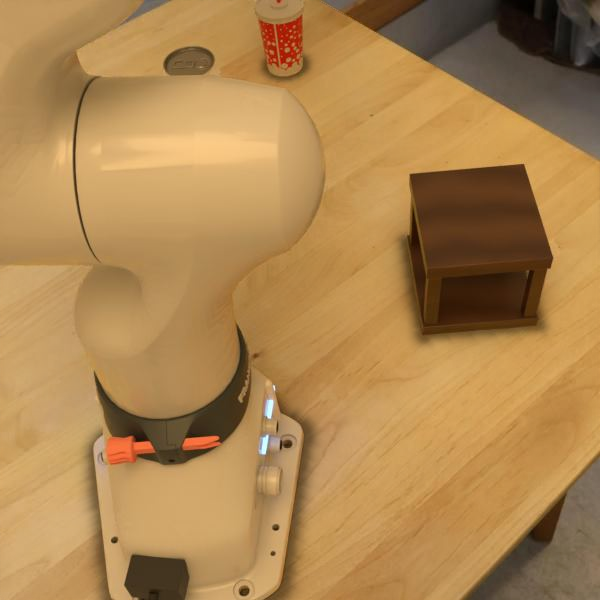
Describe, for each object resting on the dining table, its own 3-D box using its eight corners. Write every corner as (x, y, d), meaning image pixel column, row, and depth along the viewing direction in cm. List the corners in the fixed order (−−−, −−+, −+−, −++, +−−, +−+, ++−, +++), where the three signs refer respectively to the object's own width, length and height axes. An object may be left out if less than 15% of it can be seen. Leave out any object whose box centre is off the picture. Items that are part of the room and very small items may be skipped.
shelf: (536, 325, 82) (553, 257, 74) (422, 335, 82) (427, 268, 75) (511, 233, 90) (524, 163, 82) (406, 242, 90) (409, 173, 82)
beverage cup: (313, 53, 111) (306, -48, 100) (302, 82, 107) (293, -19, 96) (268, 48, 112) (257, -51, 101) (256, 77, 109) (242, -23, 98)
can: (231, 163, 99) (216, 78, 90) (176, 165, 100) (155, 81, 90) (235, 126, 103) (220, 41, 94) (182, 128, 104) (162, 44, 94)
